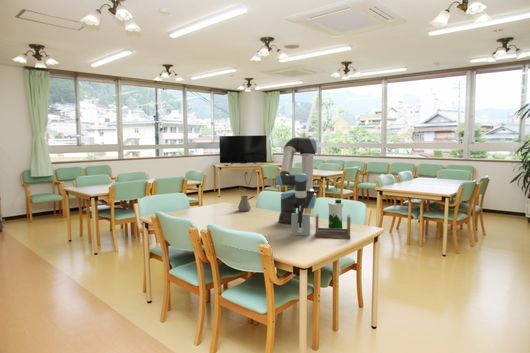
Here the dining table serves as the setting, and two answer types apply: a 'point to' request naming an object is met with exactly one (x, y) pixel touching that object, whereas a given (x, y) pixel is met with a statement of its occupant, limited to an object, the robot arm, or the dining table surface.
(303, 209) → the robot arm
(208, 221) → the dining table surface
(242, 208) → the coffee pot
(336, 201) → the milk carton
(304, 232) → the door panel
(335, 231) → the track frame
